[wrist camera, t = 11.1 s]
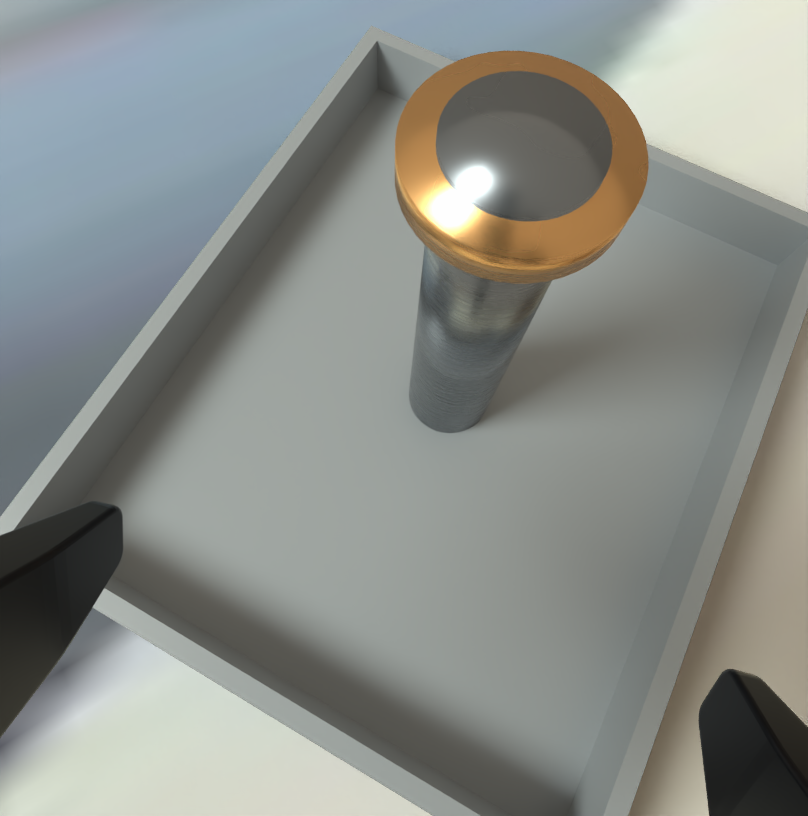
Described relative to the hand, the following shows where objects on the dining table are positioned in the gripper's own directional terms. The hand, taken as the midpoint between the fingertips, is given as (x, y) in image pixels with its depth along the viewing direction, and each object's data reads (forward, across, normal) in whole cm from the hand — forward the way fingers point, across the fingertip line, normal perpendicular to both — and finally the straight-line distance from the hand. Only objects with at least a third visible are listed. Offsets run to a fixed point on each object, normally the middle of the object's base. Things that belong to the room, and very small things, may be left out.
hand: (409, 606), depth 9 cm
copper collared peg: (+14, 0, +3) cm, 14 cm away
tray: (+14, 0, +3) cm, 15 cm away
